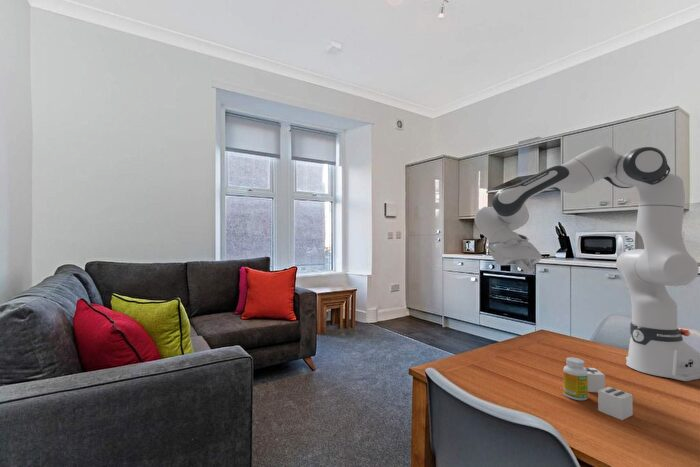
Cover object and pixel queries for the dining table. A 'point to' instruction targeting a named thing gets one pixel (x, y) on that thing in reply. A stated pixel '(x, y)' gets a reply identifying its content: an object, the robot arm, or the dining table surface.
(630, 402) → the marked block front
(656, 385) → the dining table surface
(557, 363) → the dining table surface
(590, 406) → the dining table surface
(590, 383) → the marked block back
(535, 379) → the dining table surface
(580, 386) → the supplement bottle
